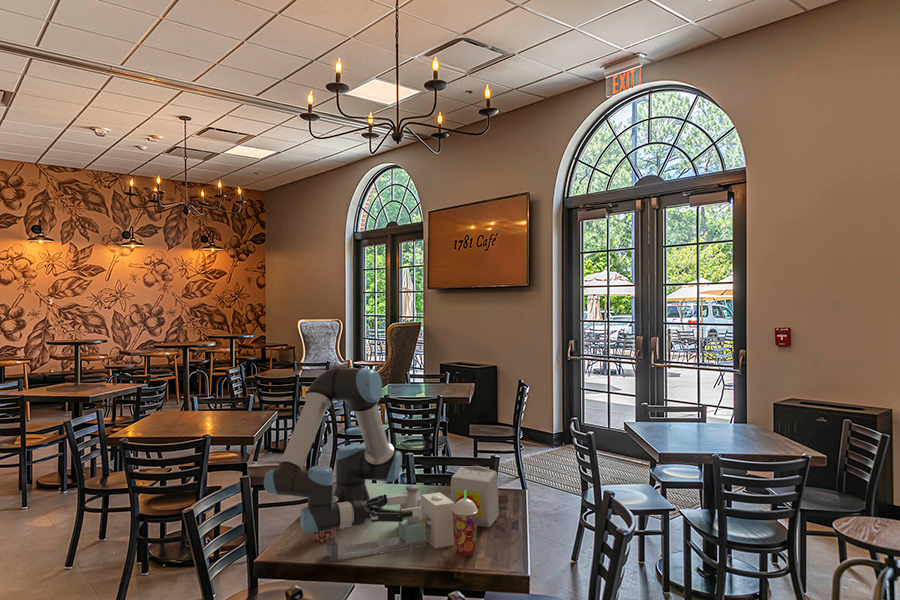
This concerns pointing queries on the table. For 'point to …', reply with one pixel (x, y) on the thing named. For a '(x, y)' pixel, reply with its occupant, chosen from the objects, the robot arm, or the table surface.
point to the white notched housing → (438, 519)
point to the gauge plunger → (427, 522)
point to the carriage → (412, 520)
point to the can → (404, 505)
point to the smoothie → (465, 526)
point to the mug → (325, 531)
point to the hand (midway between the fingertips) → (413, 504)
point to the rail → (367, 548)
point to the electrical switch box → (477, 491)
